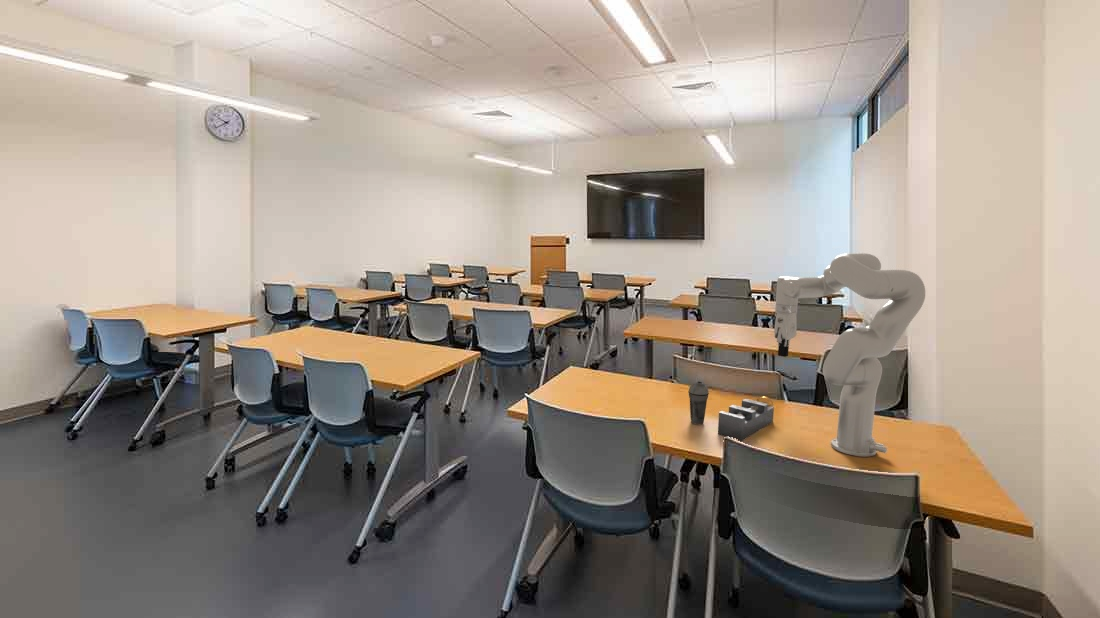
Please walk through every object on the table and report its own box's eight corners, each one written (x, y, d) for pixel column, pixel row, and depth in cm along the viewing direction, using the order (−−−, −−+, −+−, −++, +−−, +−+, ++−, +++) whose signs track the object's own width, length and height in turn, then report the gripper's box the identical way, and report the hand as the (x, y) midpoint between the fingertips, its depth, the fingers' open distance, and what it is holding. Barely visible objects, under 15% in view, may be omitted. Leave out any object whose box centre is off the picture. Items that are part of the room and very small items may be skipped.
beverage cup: (709, 426, 179) (712, 373, 176) (689, 426, 179) (692, 372, 177) (704, 419, 186) (706, 367, 184) (684, 418, 187) (687, 367, 184)
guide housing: (772, 422, 183) (774, 400, 182) (741, 441, 166) (742, 417, 165) (750, 416, 189) (752, 395, 188) (717, 434, 172) (719, 411, 171)
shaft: (772, 413, 186) (773, 398, 185) (741, 431, 168) (742, 414, 167) (757, 409, 190) (757, 394, 189) (725, 426, 173) (726, 410, 172)
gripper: (788, 311, 179) (785, 361, 181) (804, 308, 189) (800, 354, 192) (767, 309, 184) (764, 357, 187) (783, 306, 194) (780, 351, 197)
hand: (782, 355), depth 189 cm, fingers closed
